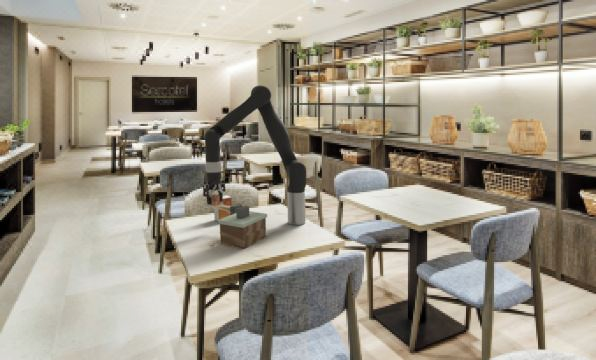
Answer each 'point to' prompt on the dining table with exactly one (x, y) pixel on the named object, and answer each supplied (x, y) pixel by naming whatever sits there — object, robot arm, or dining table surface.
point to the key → (218, 203)
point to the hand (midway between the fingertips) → (215, 202)
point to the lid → (242, 217)
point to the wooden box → (242, 232)
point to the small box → (223, 213)
